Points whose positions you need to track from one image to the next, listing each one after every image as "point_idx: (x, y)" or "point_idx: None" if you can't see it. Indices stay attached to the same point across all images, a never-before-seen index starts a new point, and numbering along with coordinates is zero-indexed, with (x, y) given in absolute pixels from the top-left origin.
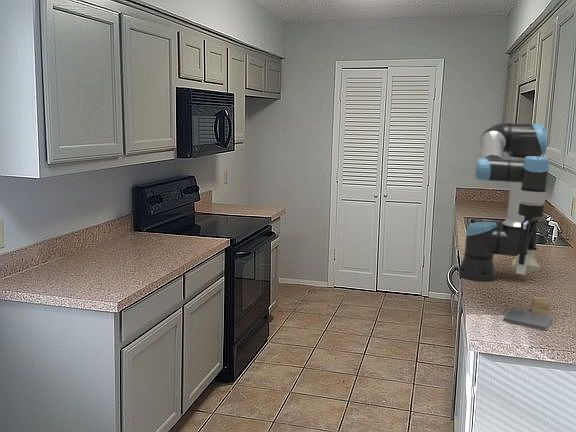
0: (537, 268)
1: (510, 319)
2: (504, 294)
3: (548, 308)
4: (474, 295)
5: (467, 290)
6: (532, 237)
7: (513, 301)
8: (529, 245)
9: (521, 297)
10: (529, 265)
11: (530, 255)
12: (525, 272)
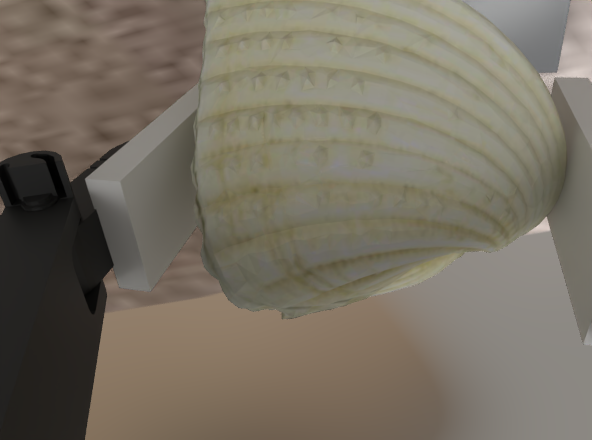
0: None
1: (564, 28)
2: (66, 166)
3: None
4: (202, 268)
5: (158, 301)
6: (19, 424)
7: (133, 105)
8: (82, 294)
9: (32, 86)
10: (544, 85)
11: (346, 168)
12: (567, 86)
